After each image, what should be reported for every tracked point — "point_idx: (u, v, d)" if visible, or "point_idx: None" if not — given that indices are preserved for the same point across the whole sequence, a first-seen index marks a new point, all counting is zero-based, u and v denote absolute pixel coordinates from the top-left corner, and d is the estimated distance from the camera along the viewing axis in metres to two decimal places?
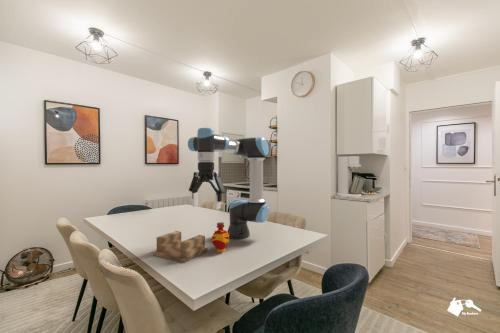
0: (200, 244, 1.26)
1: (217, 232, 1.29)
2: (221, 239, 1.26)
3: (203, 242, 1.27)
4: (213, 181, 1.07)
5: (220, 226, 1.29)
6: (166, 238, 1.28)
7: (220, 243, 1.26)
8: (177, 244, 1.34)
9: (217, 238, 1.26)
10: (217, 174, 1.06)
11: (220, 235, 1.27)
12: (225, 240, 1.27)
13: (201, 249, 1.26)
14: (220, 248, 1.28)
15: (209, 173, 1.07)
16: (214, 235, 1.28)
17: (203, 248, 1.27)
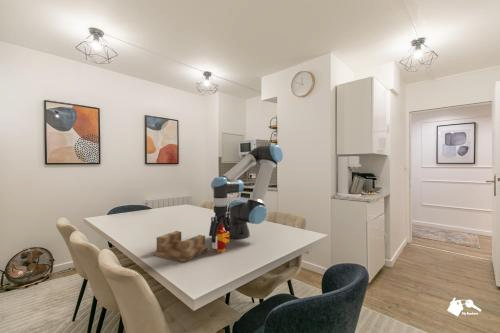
0: (200, 244, 1.26)
1: (217, 232, 1.29)
2: (221, 239, 1.26)
3: (203, 242, 1.27)
4: (216, 223, 1.27)
5: (220, 226, 1.29)
6: (166, 238, 1.28)
7: (220, 243, 1.26)
8: (177, 244, 1.34)
9: (217, 238, 1.26)
10: (212, 219, 1.25)
11: (220, 235, 1.27)
12: (225, 240, 1.27)
13: (201, 249, 1.26)
14: (220, 248, 1.28)
15: None
16: None
17: (203, 248, 1.27)
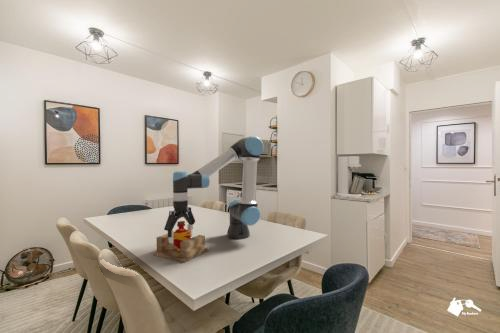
0: (200, 244, 1.26)
1: (177, 231, 1.26)
2: (180, 238, 1.23)
3: (203, 242, 1.27)
4: (174, 218, 1.24)
5: (180, 225, 1.26)
6: (166, 238, 1.28)
7: (179, 242, 1.24)
8: None
9: (176, 237, 1.23)
10: (170, 213, 1.22)
11: (180, 234, 1.24)
12: (185, 239, 1.24)
13: (201, 249, 1.26)
14: None
15: None
16: (174, 234, 1.25)
17: (203, 248, 1.27)
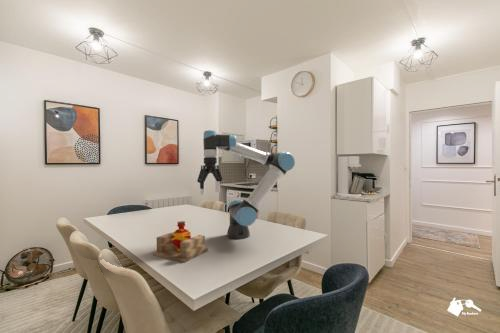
0: (200, 244, 1.26)
1: (177, 231, 1.26)
2: (180, 238, 1.23)
3: (203, 242, 1.27)
4: (205, 172, 1.35)
5: (180, 225, 1.26)
6: (166, 238, 1.28)
7: None
8: None
9: (176, 237, 1.23)
10: (202, 167, 1.33)
11: (180, 234, 1.24)
12: (185, 239, 1.24)
13: (201, 249, 1.26)
14: None
15: None
16: (174, 234, 1.25)
17: (203, 248, 1.27)
